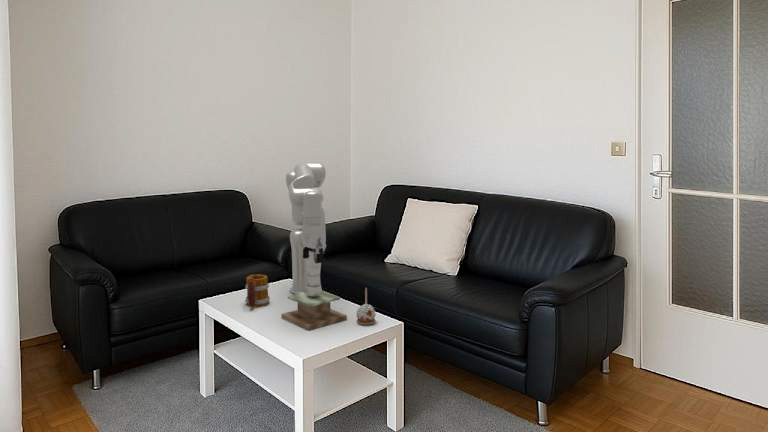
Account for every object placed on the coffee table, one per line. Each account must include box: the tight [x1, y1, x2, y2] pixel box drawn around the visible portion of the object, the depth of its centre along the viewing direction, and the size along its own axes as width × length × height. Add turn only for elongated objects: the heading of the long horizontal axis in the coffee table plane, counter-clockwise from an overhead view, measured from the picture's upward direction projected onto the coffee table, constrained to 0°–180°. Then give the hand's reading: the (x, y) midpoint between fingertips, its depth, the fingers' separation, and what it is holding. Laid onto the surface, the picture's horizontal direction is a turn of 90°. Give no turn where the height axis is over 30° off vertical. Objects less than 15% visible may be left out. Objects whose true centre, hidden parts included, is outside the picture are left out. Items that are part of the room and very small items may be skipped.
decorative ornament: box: [356, 287, 376, 326], centre depth 253 cm, size 8×8×15 cm
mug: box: [244, 274, 271, 309], centre depth 275 cm, size 11×16×15 cm, turn 174°
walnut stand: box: [281, 290, 348, 331], centre depth 257 cm, size 20×20×10 cm
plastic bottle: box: [306, 249, 323, 297], centre depth 255 cm, size 6×7×20 cm
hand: (313, 260), depth 254 cm, fingers open, 9 cm apart
